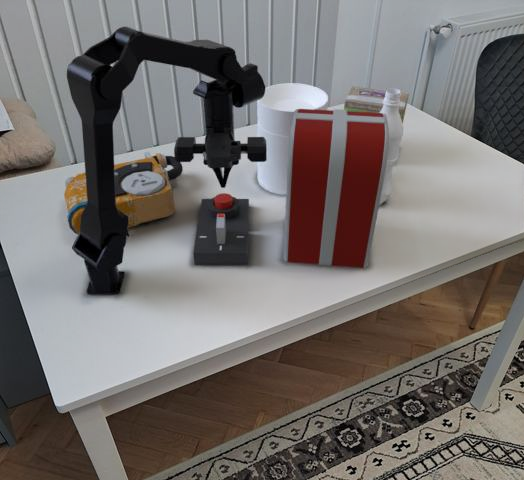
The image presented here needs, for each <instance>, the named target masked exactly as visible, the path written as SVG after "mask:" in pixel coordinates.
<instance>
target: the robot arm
mask: <svg viewBox="0 0 524 480" xmlns="http://www.w3.org/2000/svg"><path fill="white" fill-rule="evenodd" d="M144 61H146V62H147V61H148V62H153V63H160V64H164V65H170V66H175V67H179V68H184V69H185V68H186V69H190V70H192V71H194V72H196V73H198V74H201V75H203V76H206V77H209V78H211V79H214V80H210V81H209V82H207V81H205V80H200V81H199V83H198V85H196V86H195V87H194V89H193V91H192V94H193V95H194V96H197V97H200V98H202V101H203V113H204V115H203V116H204V126H205V137H204V143H197V141H196V140H197V139H196V137H195V136H179V137H177V138H176V140H175V143H174V148H173V155H174V156H173V157H175V161H177V162H181V163H191V162H192V161H193V160H194V159H195V155H202V157H203V161H202V162H203V165H205V166H207V167H208V168H209V169H212V171H213V172H214V175H215V177H216V179H217V181H218V183H219V185H220V188H221V189H225V188H226V186H227V183H228V179H229V175H230V173H231V171H232V169H233V167H234V166H238V165H239V164H240V160H242V154H243V155H245V154H246V156H247V157H246V158H247V159H248V161H250V162H251V163H258V162H265V161H267V147H266V139H265V138H264V137H257V136H247V142H246V143H242V142H241V140H235V116H234V114H235V113H234V107H235V108H238V109H239V108H240V109H241V108H243V107H246V106H248V105H250V104H252V103H254V102H257V100H260V99H261V98H263V96H264V94H265V88H266V84H265V81H264V78H263V76H262V75H261V74H260V72H259V69H258V68H259V67H258V66H259V65H257V64H254V63H251V62H250V63H247V64H245V65H243V66H241V64H240V62H239V61H238V59H237V54H236V50H235V49H234V48H233V47H230V46H227V45H225V44H222V43H218V42H216V41H213V40H210V39H193V40H191V41H182V40H178V39H173V38H170V37H165V36H161V35H157V34H152V33H149V32H143V31H140V30H138V29H134V28H132V27H130V26H121V27H119V28H117V29H116V30H115V31H114V32H113V33H112V34H111V35H110V36H109V37H107V38H105V39H103V40H101V41H99V42H97V43H95V44H93V45H91V46H90V47H89V48H88V49H87V50H86V51H84V53H82V54H81V55H78V56H76V57H75V58H73V59H72V61H71V62H70V63H69V64H68V65H67V68H66V80H67V85H68V89H69V93H70V96H71V100H72V102H73V104H74V107H75V108H76V111H77V113H78V116H79V117H80V120H81V131H82V132H81V133H82V144H83V145H82V146H83V159H84V171H85V172H84V173H85V174H86V188H87V205H86V207H85V209H84V210H83V212H82V214H81V224H80V232H79V234H77V236H76V238H75V239H74V242H73V244H72V246H71V250H72V251H73V252H74V253H75V254H76V255H77V256H78V257H80V258H82V259H83V262H84V265H85V269H86V272H87V276H88V278H89V282H88V285H87V288H86V291H85V292H86V294H87V295H120V294H121V291H122V287H123V284H124V280H125V277H126V271H123V270H121V271H120V270H119V267H118V266H119V265H121V264H123V260H124V252H125V247H126V245H127V239H128V238H129V237H130V236H131V235H130V233H129V227H128V221H129V220H128V216H127V215H126V214H124V213H123V212H121V211H120V210H118V209H117V207H116V198H115V171H114V165H115V150H114V149H115V148H114V147H115V146H114V145H115V143H114V122H115V120H116V118H117V116H118V115H119V112H120V110H121V107H122V98H123V91H125V89H127V87H129V85H130V84H131V83H132V82H134V80H135V77H136V75H137V71H138V70H139V66H140V65H141V64H142V63H143V62H144ZM127 237H128V238H127Z"/></svg>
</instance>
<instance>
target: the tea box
mask: <svg viewBox="0 0 524 480" xmlns="http://www.w3.org/2000/svg"><path fill="white" fill-rule="evenodd" d="M385 94H386V90H381V89H373V88H367V87H360V86H351V88H350V90H349V92H348V94H347V96H346V98H345V101H344V105H343V110H347V111H352V112H371V113H380V111H381V109H382V108H383V105H384V104H383V100H384V98H385ZM409 95H410V94H409V93H406V92H405V93H404V92H401V95H400V105H399V114H400V117H401V120H402V124H404V119H405V115H406V110H407V105H408V100H409Z"/></svg>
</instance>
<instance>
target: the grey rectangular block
mask: <svg viewBox="0 0 524 480" xmlns="http://www.w3.org/2000/svg"><path fill="white" fill-rule="evenodd" d="M216 233H217V244H225V236H226V224H225V214H217V224H216Z"/></svg>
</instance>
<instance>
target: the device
mask: <svg viewBox="0 0 524 480" xmlns="http://www.w3.org/2000/svg"><path fill="white" fill-rule="evenodd" d="M168 166H171V167H172V168H171V169H168V170H167V169H166V168H168ZM183 168H184V167H183V164H182V162H177V161H175V156H173V155H165V153H159V152H157V153H155V155H152V154H151V152H150V151H146V152H145V151H144V158H140V159H136V160H131V161H126V162H121V163H116V164H114V171H115V198H116V207H117V209H118V210H120V211H121V212H123V213H124V214H126V215H127V216H128V220H129V221H128V228H130V227H136V226H139V225H140V224H143V223H144V224H145V223H148V222H151V221H155V220H158V219H162V218H167V217H170V216H171V215H173V214H174V213H175V211H176V205H175V198H174V191H173V186H172V184H171V183H170V181H173V180H175V179H177V178H179V177H180V176H182V173H183V172H184V170H183ZM64 183H65V186H64V187H65V190H64V192H63V196H64V201H65V204H66V212H67V216H66V218H67V222H68V226H69V228H70V230H71V231H72V232H73V233H74V234H75V235H78V234H79V232H80V224H81V214H82V212H83V210H84V209H85V207H86V205H87V188H86V174H85V172H82V173H78V174H77V175H75V176H70V177H67V178H66V180H65V181H64Z"/></svg>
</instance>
